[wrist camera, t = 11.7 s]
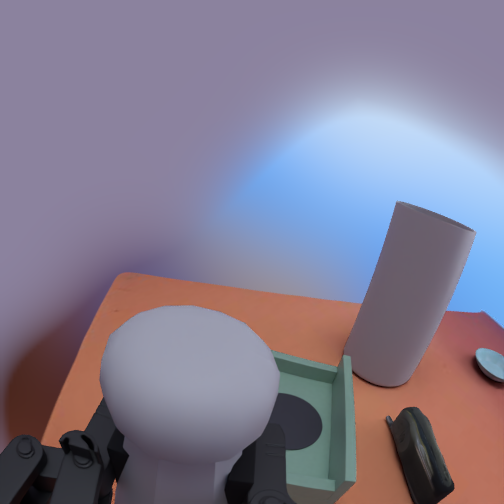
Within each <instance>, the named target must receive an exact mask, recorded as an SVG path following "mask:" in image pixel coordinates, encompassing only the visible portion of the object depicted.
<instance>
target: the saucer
mask: <svg viewBox="0 0 504 504" xmlns="http://www.w3.org/2000/svg"><path fill="white" fill-rule="evenodd" d="M476 359H477V363H478V365H479V367H480V369H481V370H482V372H483V373H484V374H485V375H486V376H488V377H489V378H491V379H492V380H495V381H498V382H504V357H503V356H502V355H500V354H499V353H497V352H495V351H492V350H490V349H486V348H479V349H477V350H476Z"/></svg>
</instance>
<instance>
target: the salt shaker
mask: <svg viewBox="0 0 504 504" xmlns="http://www.w3.org/2000/svg"><path fill="white" fill-rule="evenodd" d="M279 380H280V372H279V370H278V367H277V365H276V362H275V359H274V357H273V354H272V352H271V350H270V348H269V347H268V346H267V345H266V344H265V343H264V341H263V340H262V339H261V338H260V337H259V336H258V335H257V334H256V333H254V332H253V331H252V330H251V329H250V328H249V327H248V326H247V325H246V324H245V323H243V322H241V321H239V320H237V319H234V318H232V317H230V316H228V315H226V314H224V313H222V312H219V311H214V310H210V309H206V308H201V307H197V306H193V305H192V306H162V307H159V308H155V309H151V310H148V311H144V312H140V313H138V314H137V315H135V316H133V317H132V318H130V319H129V320H128V321H126V322H125V323H124V324H123V325H122V326H120V327H119V328H118V329H117V330H115V331H114V332H113V333H112V334H111V335H110V336H109V339H108V342H107V345H106V348H105V351H104V354H103V357H102V362H101V370H100V384H101V388H102V392H103V396H104V399H105V402H106V404H107V407H108V409H109V412H110V414H111V416H112V419H113V421H114V423H115V426H116V428H117V429H118V430H119V431H120V432H121V433H122V434H123V435H124V436H125V437H124V443H123V448H124V449H125V451H126V452H127V453H128V454H129V458H128V460H127V462H126V464H125V467H124V469H123V471H122V473H121V476H120V478H119V480H118V483H117V487H116V493H115V504H228V503H227V499H226V495H225V491H224V489H225V485H226V482H227V478H228V474H229V473H230V472H231V470H232V467H233V465H234V464H235V463H236V461H237V460H238V459H239V458H240V456H241V455H242V450H243V449H245V448H246V447H247V446H249V445H250V444H251V443H252V442H254V441H255V440H256V439H257V438H259V437H260V436H261V435H262V433H263V431H264V429H265V427H266V425H267V423H268V421H269V419H270V416H271V413H272V410H273V407H274V404H275V401H276V398H277V395H278V389H279Z"/></svg>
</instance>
